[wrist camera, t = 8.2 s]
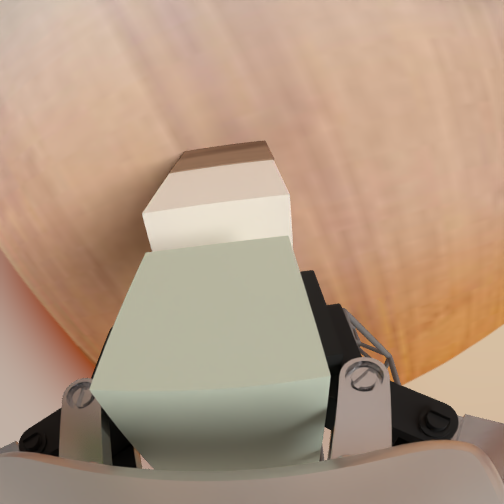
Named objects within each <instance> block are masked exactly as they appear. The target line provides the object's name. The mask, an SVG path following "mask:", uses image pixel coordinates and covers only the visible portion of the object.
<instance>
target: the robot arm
mask: <svg viewBox="0 0 504 504" xmlns="http://www.w3.org/2000/svg"><path fill="white" fill-rule="evenodd" d="M300 274H301V277H302V280H303V283H304V287H305V290H306V293H307V296H308V300H309V303H310V306H311V310H312V313H313V316H314V320H315V323H316V326H317V330H318V333H319V336H320V340H321V343H322V347H323V350H324V354H325V357H326V361H327V364H328V368H329V371H330V375H331V377H330V387H329V395H328V404H327V412H326V419H325V427H326V428H328V429H330V430H331V436H330V443H329V451H328V458H327V460H325V461H319V462H313V463H306V464H299V465H292V466H283V467H274V468H263V469H250V470H233V471H168V470H150V469H142V465H141V458H140V453H139V452H138V451H137V450H136V449H135V448H134V446H133V445H132V444H131V443H130V442H129V441H128V439H127V438H126V437H125V436H124V435H123V433H122V432H121V431H120V430H119V428H118V427H117V426H116V425H115V423H114V422H113V421H112V420H111V418H110V417H109V416H108V414H107V413H106V412H105V411H104V409H103V408H102V407H101V405H100V404H99V402H98V401H97V400H96V398H95V397H94V396H93V394H92V393H91V391H90V390H89V389H90V386H91V383H92V380H93V378H94V375H95V372H96V369H97V367H98V364H99V361H100V359H101V356H102V353H103V351H104V348H105V346H106V343H107V341H108V338H109V336H110V333H111V331H112V328H113V327H112V328H111V329H110V331H109V334H108V336H107V338H106V341H105V343H104V346H103V348H102V351H101V354H100V356H99V359H98V361H97V364H96V367H95V369H94V372H93V375H92V377H91V379H89V378H82V379H80V380H76V381H75V382H73V383H71V384H70V385H69V387H67V389H66V390H65V392H64V394H63V398H62V408H60V409H59V410H57V411H56V412H54V413H52V414H51V415H49V416H48V417H46V418H45V419H43V420H42V421H40V422H38V423H37V424H35V425H34V426H32V427H31V428H29V429H28V430H26V431H25V432H24V433H23V435H22V436H21V438H20V441H19V443H18V442H16V441H15V442H13V443H11V444H9V445H7V446H4V447H3V448H0V504H504V424H503V423H499V422H495V421H491V420H487V419H482V418H478V417H474V416H471V415H466V414H465V415H464V417H461V416H458V415H457V414H456V412H455V411H454V410H453V409H452V407H451V406H449V405H447V404H445V403H443V402H440V401H438V400H435V399H433V398H430V397H428V396H425V395H423V394H421V393H418V392H415V391H413V390H411V389H408V388H406V387H404V386H401V385H399V384H397V383H394V382H392V381H390V377H389V372H388V369H387V368H386V367H385V365H384V364H382V363H381V362H380V361H378V360H376V359H373V358H368V357H362V356H361V354H360V351H359V348H358V346H357V343H356V341H355V338H354V336H353V333H352V331H351V328H350V326H349V323H348V321H347V318H346V316H345V314H344V311H343V309H342V307H341V305H340V304H333V305H326V303H325V300H324V297H323V295H322V292H321V289H320V286H319V284H318V281H317V278H316V276H315V273H314V271H313V270H310V271H302V272H300Z"/></svg>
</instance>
